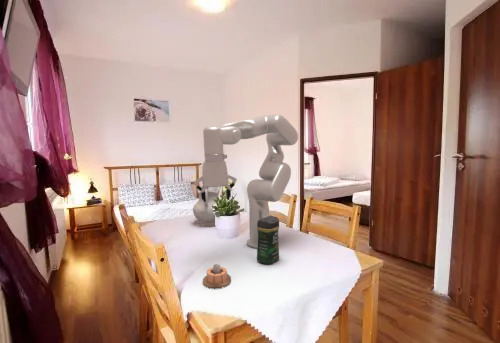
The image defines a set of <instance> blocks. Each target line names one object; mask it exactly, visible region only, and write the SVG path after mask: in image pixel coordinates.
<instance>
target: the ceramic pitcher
mask: <svg viewBox="0 0 500 343" xmlns="http://www.w3.org/2000/svg"><path fill="white" fill-rule="evenodd" d="M202 186H203V184H201V186H200V187H201V188H202ZM220 191H221V188H220V186H219V187H207V188H206V189H205V196H206V202H204V201H203V200H202V196H201V191H200V190H198V189H197V188H196V192H197V194H198V200H197V202H196V203H195V204H194V205H193V207H192V212H193V216H194V217H195V219H197V221H199V222H200V223H199V225H201V226H204V227H215V226H216V225H215V215H214V213H213V208H212V205H215V203H214V201H213V198H214V197H218V198H219V194H220Z"/></svg>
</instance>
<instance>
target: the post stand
mask: <svg viewBox="0 0 500 343" xmlns="http://www.w3.org/2000/svg"><path fill="white" fill-rule="evenodd" d="M220 267H221V264H219V263H218V264H217V263H216V264H213V265H212V268H213V274H220ZM231 283H232V276H230V275H229V274H228V273H227V280H226V281H225V282H223V283H220V284H215V283H214V284H212V283H209V282H207V274H206V275H205V276H204V277H203V279H202V284H203V286H204V287H205V286H206V287H205V288H207V287H208V289H210V288H214V289H213V290H216V289H215V288H220V289H223V288H222V287H224V288H226V287H228V286H230V284H231ZM227 285H228V286H227ZM225 286H226V287H225Z"/></svg>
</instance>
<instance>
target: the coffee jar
mask: <svg viewBox="0 0 500 343" xmlns="http://www.w3.org/2000/svg"><path fill="white" fill-rule="evenodd" d="M257 229H258V248H256V249H257V251H256V260H257V262H259V263H260V264H262V265H271V264H273V263H275V262H277V261H278V260H279V259H280V248H279V239H278V236H279V231H280V219H279V218H278V216H273V215H269V216H268V217H265V218H263V219H260V220H258V223H257Z"/></svg>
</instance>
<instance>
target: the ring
mask: <svg viewBox="0 0 500 343" xmlns="http://www.w3.org/2000/svg"><path fill="white" fill-rule="evenodd" d="M227 274H228V271H227V268H226V267H223V266H220V274H213V266H212V267H210V268H208V269H207V270H206V275H207V282H209V283H212V284H214V283H215V284H220V283H223V282H225V281H226V280H227Z"/></svg>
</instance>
